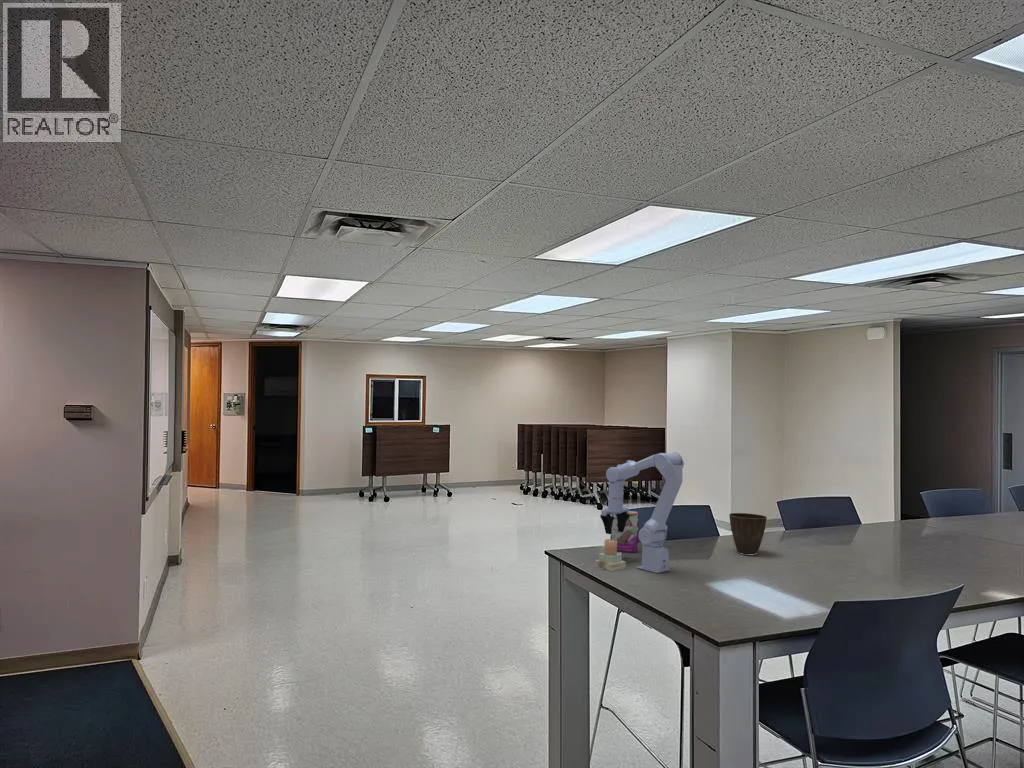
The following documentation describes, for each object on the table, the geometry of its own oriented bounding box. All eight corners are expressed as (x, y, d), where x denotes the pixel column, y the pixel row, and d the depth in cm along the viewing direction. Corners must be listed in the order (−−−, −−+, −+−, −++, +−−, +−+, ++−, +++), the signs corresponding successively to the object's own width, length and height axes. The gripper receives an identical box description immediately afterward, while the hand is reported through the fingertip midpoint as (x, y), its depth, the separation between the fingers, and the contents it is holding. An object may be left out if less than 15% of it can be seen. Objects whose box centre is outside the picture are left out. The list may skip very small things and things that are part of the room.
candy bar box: (610, 551, 279) (611, 511, 280) (609, 549, 284) (611, 509, 285) (637, 553, 278) (639, 513, 279) (636, 550, 283) (637, 511, 284)
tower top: (621, 561, 251) (621, 554, 251) (611, 563, 246) (612, 556, 246) (608, 558, 255) (608, 551, 255) (598, 560, 250) (598, 553, 251)
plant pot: (721, 552, 286) (722, 514, 286) (739, 548, 296) (740, 511, 296) (754, 559, 275) (755, 519, 275) (772, 554, 285) (773, 516, 285)
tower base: (625, 569, 250) (625, 561, 250) (611, 572, 245) (611, 564, 245) (608, 565, 256) (609, 557, 256) (594, 568, 251) (595, 560, 251)
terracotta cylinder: (619, 555, 250) (619, 541, 250) (609, 556, 247) (609, 542, 247) (611, 552, 254) (611, 538, 254) (601, 553, 251) (602, 539, 251)
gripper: (619, 495, 273) (618, 529, 273) (595, 497, 264) (594, 532, 263) (633, 497, 268) (632, 532, 268) (609, 500, 258) (608, 535, 258)
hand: (614, 532), depth 265 cm, fingers open, 7 cm apart
